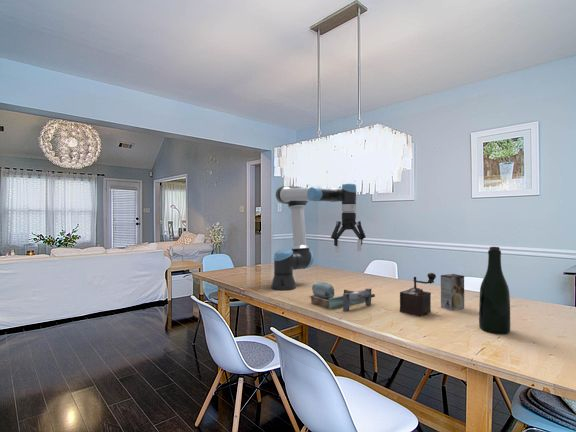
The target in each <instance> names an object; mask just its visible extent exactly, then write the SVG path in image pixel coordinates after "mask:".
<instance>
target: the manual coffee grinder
mask: <svg viewBox="0 0 576 432" xmlns="http://www.w3.org/2000/svg"><path fill="white" fill-rule="evenodd" d="M427 278H428V280H427V281H421V280H417V276H414V277H413V287H411V288H409V289H406V290H403V291H400V292H399V312H400V313H404V314H408V315H410V316H411V315H412V316H415V317H424V316H426V315H428V314H430V313H431V312H432V310H431V309H432V305H431V304H432V303H431V301H432V300H431V299H432V297H431V295H432V294H431V293H432V292H431V291H424V290H423V288H418V287H417V283H420V284H424V285H426V284H430V285H431V284H434V283H435V279H436V278H437V275H436V274H435V273H434V272H429V273H428V274H427Z"/></svg>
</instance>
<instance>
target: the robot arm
mask: <svg viewBox="0 0 576 432" xmlns="http://www.w3.org/2000/svg"><path fill="white" fill-rule="evenodd" d="M275 198H276V201H278V202H279V203H280V204H284V205H287V206H288V209H289V210H290V213H291V214H290V215H291V216H290V217H291V227H292V228H291V229H292V242H293V246H292V248H291V249H290V248H289V249H281V250H277V251H276V252H275V253H274V256H273V261H274V263H273V266H274V267H273V269H274V270H273V273H274V274H273V278H272V281H271V286H270V287H271V289H272V290H277V291H291V290H294V289H296V282H295V278H294V275H293V274H294V272H293V271H294V270H295V271H296V270H304V269H309V268H310V267H312V265H313V263H314V259H315V257H314V253H313V252H312V250H310V247H309V246H308V244H307V236H306V235H307V234H306V230H307V229H306V222H305V221H306V220H305V208H306V207H307V203H309V202H331V203H332V202H333V203H336V202H341V212H342V213H341V221H339V220H337V221H336V224H335V227H334V229H333V231H332V234H331V235H330V239H332V240H333V246H335V250H334V251H335V253H340V239H339V238H340V237H341V236H342V234H343V233H344V232H345V231H346V230H350V231H351V230H352V231H353V233H354V234H355V236H356V237H357V239H356V240H357V241H356V242H357V243H356V247H357V248H356V251H357V252H362V245H363V240H364V239H365V238H367V236H366V235H365V231H364V230H363V229H364V228H363V227H362V223H361V220H357V221H356V219H357V214H356V211H357V185H356V183H352V182H351V183H350V182H349V183H342V186H341V187H323V186H310V187H303V186H302V187H301V186H293V185H292V186H290V185H289V186H287V185H282V186H279V188H277V189H276V191H275Z"/></svg>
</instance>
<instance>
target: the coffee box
mask: <svg viewBox="0 0 576 432" xmlns="http://www.w3.org/2000/svg"><path fill="white" fill-rule="evenodd" d="M440 308H442V309H444V310H445V309H446V310H449V311H457V310H462V309H465V275H461V274H456V273H450V274H441V275H440Z"/></svg>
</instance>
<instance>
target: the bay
mask: <svg viewBox="0 0 576 432" xmlns="http://www.w3.org/2000/svg"><path fill="white" fill-rule="evenodd" d="M353 292H355V291H354V290H349V289H345V288H344V290H343V294H344V293H353ZM310 298H311V304H313V305H317V306H319V307H323V308H325V309H329V310H333V309H337V308H343V295H338V296H334V297H333V298H329V299H327V298H321V297H317V296H315V295H311V297H310ZM363 302H365V298H361V299H357V300H352V301H349V306H350V305H354V304H359V303H363Z"/></svg>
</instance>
